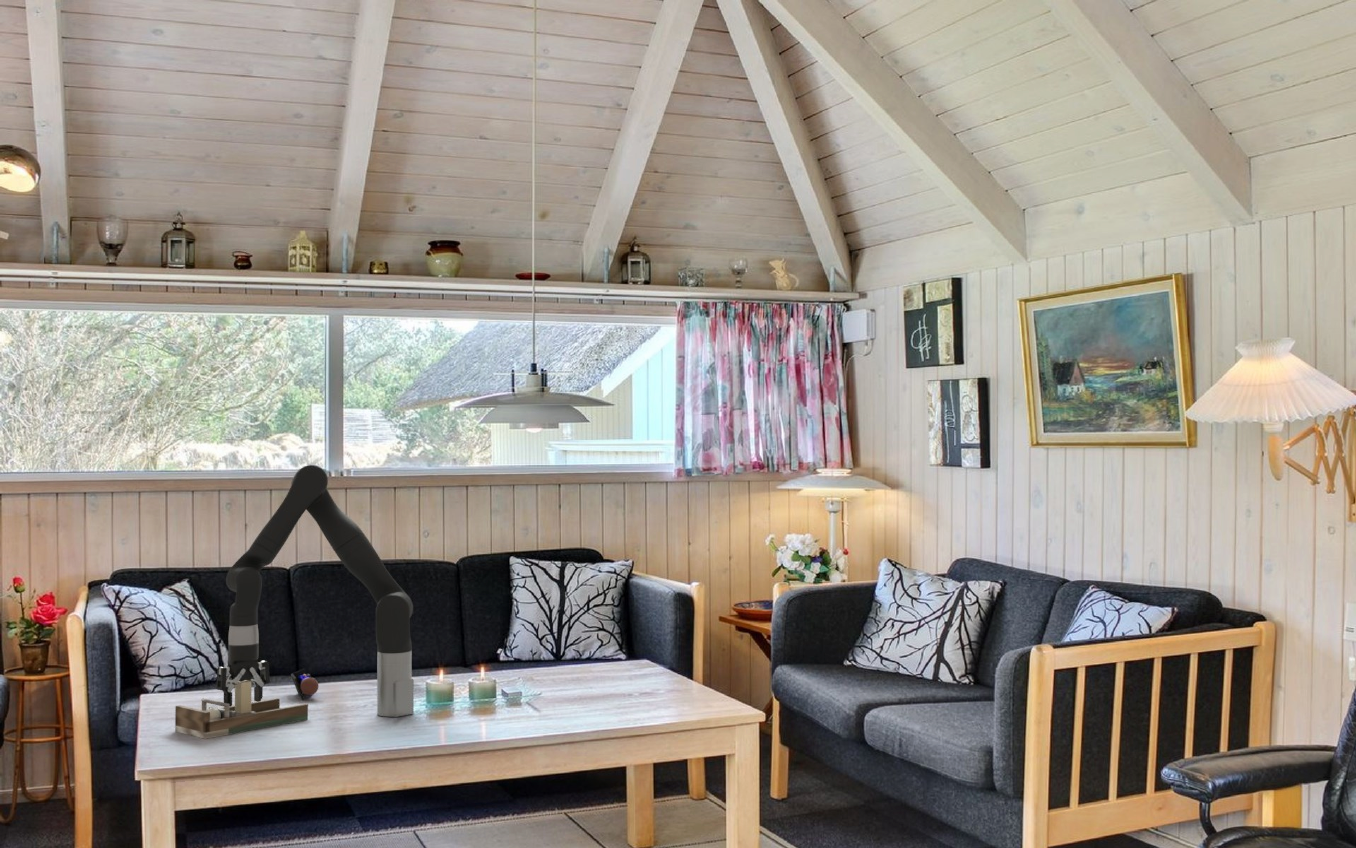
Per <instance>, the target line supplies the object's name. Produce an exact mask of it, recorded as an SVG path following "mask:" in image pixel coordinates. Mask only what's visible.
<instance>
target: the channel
mask: <svg viewBox="0 0 1356 848" xmlns="http://www.w3.org/2000/svg"><path fill="white" fill-rule="evenodd" d="M208 704H210V705H215V706H216V705H217V706H220V707H221V708H222V709H224V719H218V720H213V721H210V712H207V711H206V710H207V709H208ZM280 705H281V703H280V698H278V697H276V698H271V699H265V700H261V701H259V702H257V701H254V702H252V701H251V711H254V712H256V713H252V714H246V715H240V716H235V717H229V710H231V711H235V705H232V706H230V704H227V703H224V701H223V702H221V701H218V700H213V699H207V698H202V699H201V709H199V708H193V707H190V706H184V705H179V704H178V705H175V707H174V708H175V712H174V713H175V714H174V715H175V717H174V718H175V723H174V724H175V725H174V726H175V727H174V728H175V729H174V732H177V733H180V734H181V733H182V734H185V735H188V736H191V737H197V738H199V739H200V738H201V739H207V740H208V739H211V738H216V737H221V736H228V735H232V734H238V733H243V732H248V731H253V730H259V729H265V728H269V727H275V726H280V725H284V724H289V723H290V724H291V723H295V722H300V721H306V720H309V719H308V718H309V713H308V712H309V709H308V708H309V705H308V704H307V703H302V704H298V705H292V706H287V707H280Z"/></svg>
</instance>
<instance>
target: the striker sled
mask: <svg viewBox="0 0 1356 848" xmlns="http://www.w3.org/2000/svg"><path fill="white" fill-rule="evenodd" d="M251 703H252V681H251V680H244V681H241V682H240V681H239V682H238V683H237V685H235V686H234V706H235V711H231V710H229V717H235V716H240V715H246V714H252V713H256V712H254V711H251ZM209 708H216V709H218V710H219V711H220V713H221V719H224V709H222V708H223V707H217V706H208V709H209Z"/></svg>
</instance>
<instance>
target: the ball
mask: <svg viewBox="0 0 1356 848" xmlns="http://www.w3.org/2000/svg"><path fill="white" fill-rule="evenodd" d="M206 711H207V712H210V721H213V720H218V719H221V713H220V711H219V710H218V709H216V708H209V707H208V708H207V710H206Z"/></svg>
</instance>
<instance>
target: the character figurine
mask: <svg viewBox="0 0 1356 848" xmlns="http://www.w3.org/2000/svg"><path fill="white" fill-rule="evenodd" d="M290 677H291V680H292V681H293V684H294V686H295V689H296V692H297V694H298V696H299V698H300V699H301V700H302V701H304V700H305V696H310V697H313V695H315V694H316V693H317V692H318V690H319V682H318V681H317V680H316V678H314V677H312V676H311V674H310V673H307V671H306V669H305V668H302V669H299V670H298V671H295V672H293V673H291V674H290ZM303 694H304V695H305V696H304V695H303Z"/></svg>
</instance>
